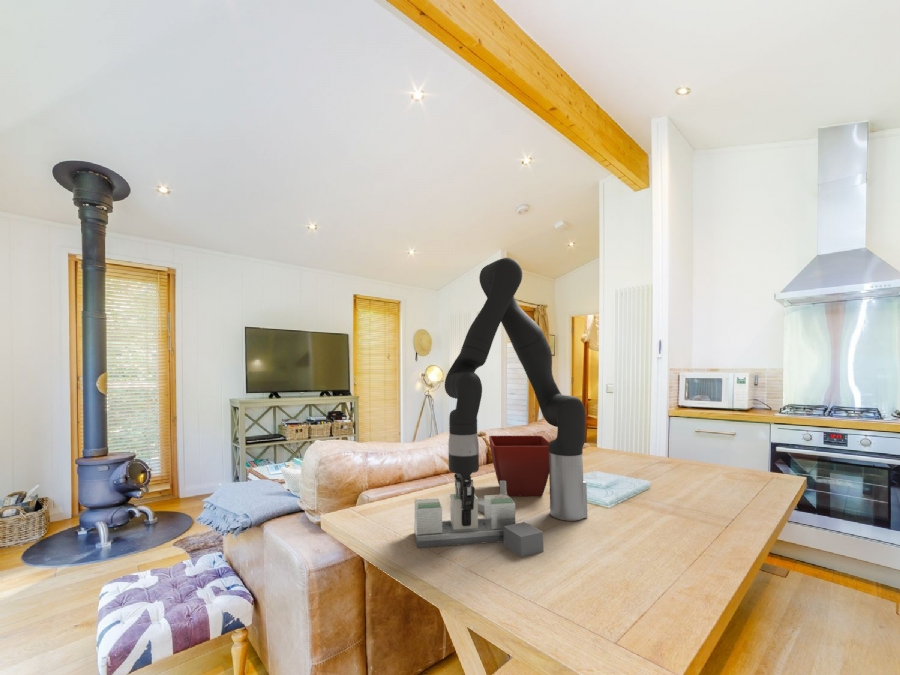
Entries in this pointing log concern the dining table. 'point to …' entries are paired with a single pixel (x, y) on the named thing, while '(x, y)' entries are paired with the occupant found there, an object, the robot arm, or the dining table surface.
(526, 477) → the plant pot
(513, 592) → the dining table surface
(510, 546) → the block
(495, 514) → the rail board
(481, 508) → the electronic device
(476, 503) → the block
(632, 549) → the dining table surface
